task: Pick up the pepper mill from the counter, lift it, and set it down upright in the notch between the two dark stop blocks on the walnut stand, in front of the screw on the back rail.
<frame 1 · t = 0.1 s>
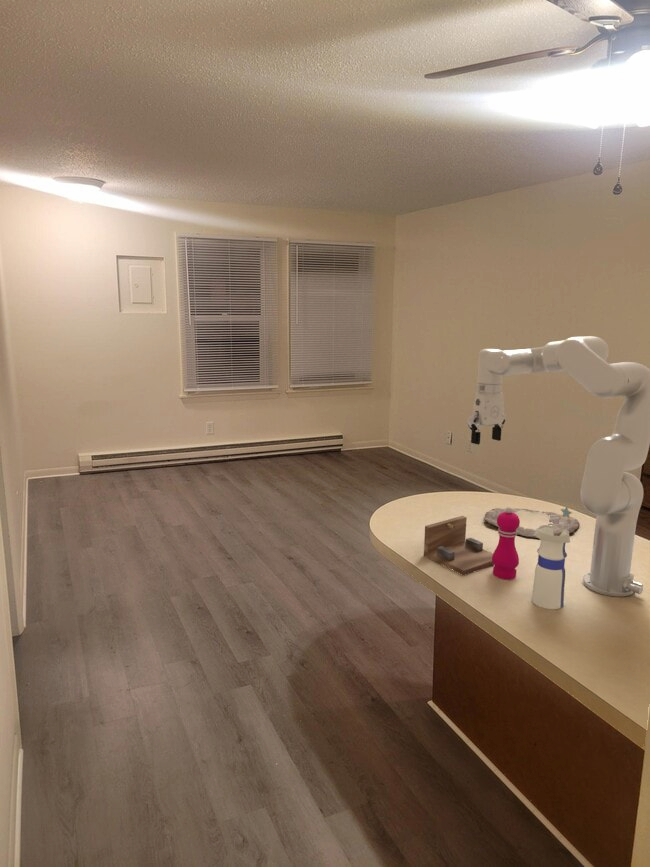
hand: (485, 441, 189), 31 cm above the kitchen counter, tool pointing down, fingers open, 9 cm apart
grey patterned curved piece: (530, 524, 205), on the kitchen counter
notched stand: (462, 558, 176), on the kitchen counter
pepper mill: (504, 575, 166), on the kitchen counter
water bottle: (546, 601, 151), on the kitchen counter
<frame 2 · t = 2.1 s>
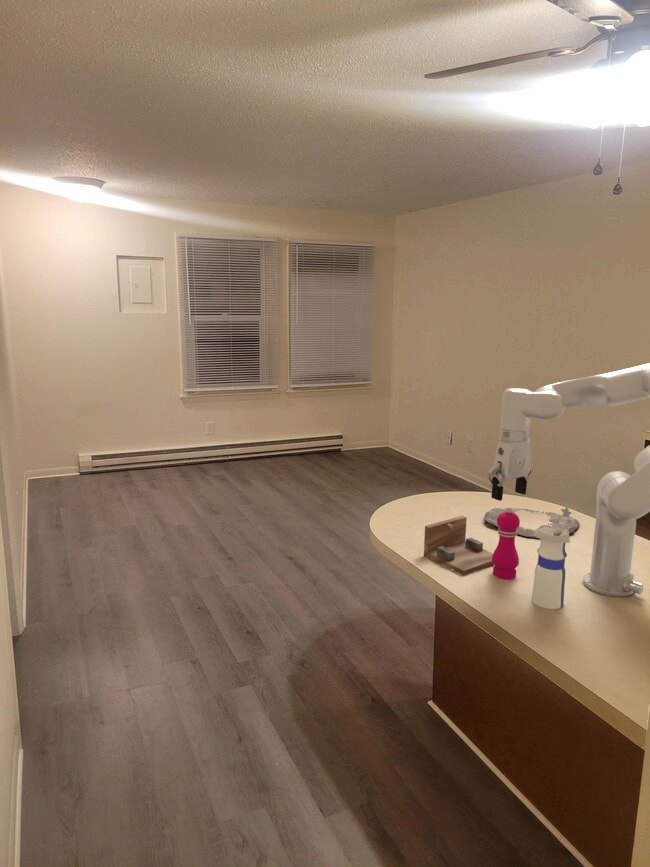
hand: (508, 496, 161), 23 cm above the kitchen counter, tool pointing down, fingers open, 9 cm apart
nothing on the kitchen counter moved.
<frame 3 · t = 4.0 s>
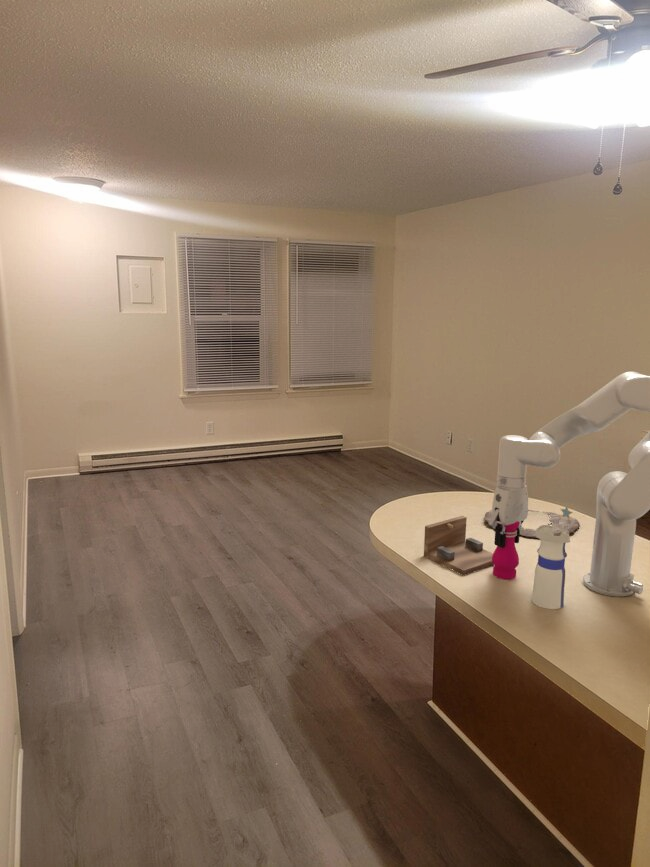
hand: (506, 543, 164), 9 cm above the kitchen counter, tool pointing down, fingers closed on pepper mill, 5 cm apart
pepper mill: (504, 575, 166), on the kitchen counter, touching gripper
everything else where it was.
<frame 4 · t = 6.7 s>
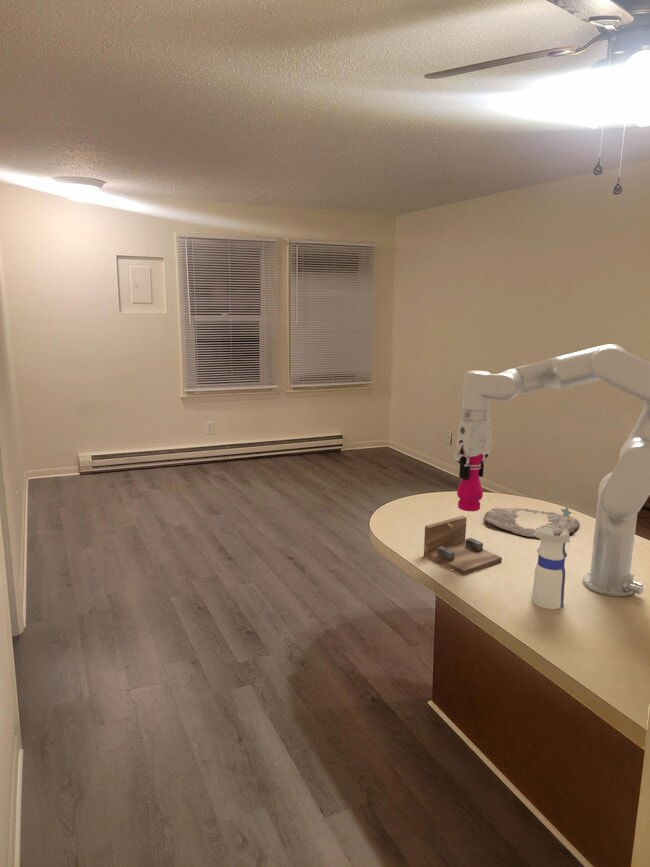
hand: (471, 476, 169), 26 cm above the kitchen counter, tool pointing down, fingers closed on pepper mill, 5 cm apart
pepper mill: (468, 508, 171), point 16 cm above the kitchen counter, touching gripper
everything else where it was.
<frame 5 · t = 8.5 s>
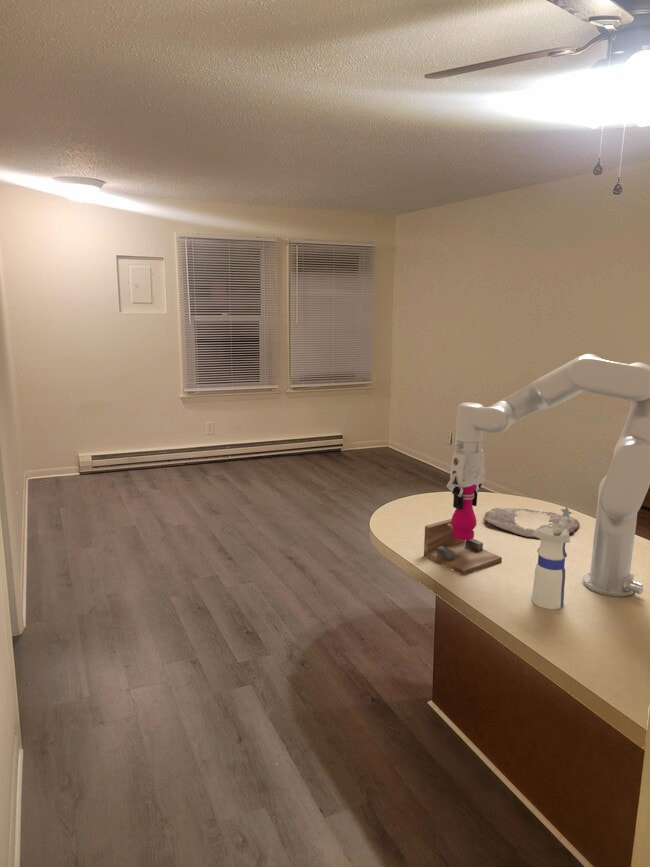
hand: (464, 506, 172), 17 cm above the kitchen counter, tool pointing down, fingers closed on pepper mill, 5 cm apart
pepper mill: (462, 536, 175), point 7 cm above the kitchen counter, touching gripper
everything else where it was.
when the fingers open (12 cm above the kitchen counter, at t = 9.8 s): pepper mill stays where it is, resting on notched stand.
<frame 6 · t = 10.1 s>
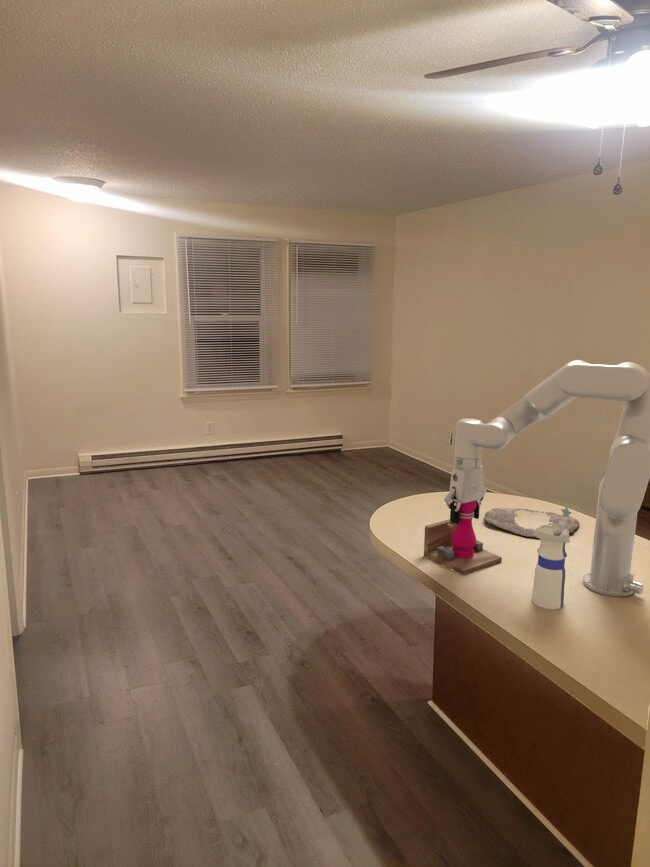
hand: (464, 519, 173), 12 cm above the kitchen counter, tool pointing down, fingers open, 7 cm apart
pepper mill: (462, 555, 175), point 1 cm above the kitchen counter, touching notched stand
everything else where it was.
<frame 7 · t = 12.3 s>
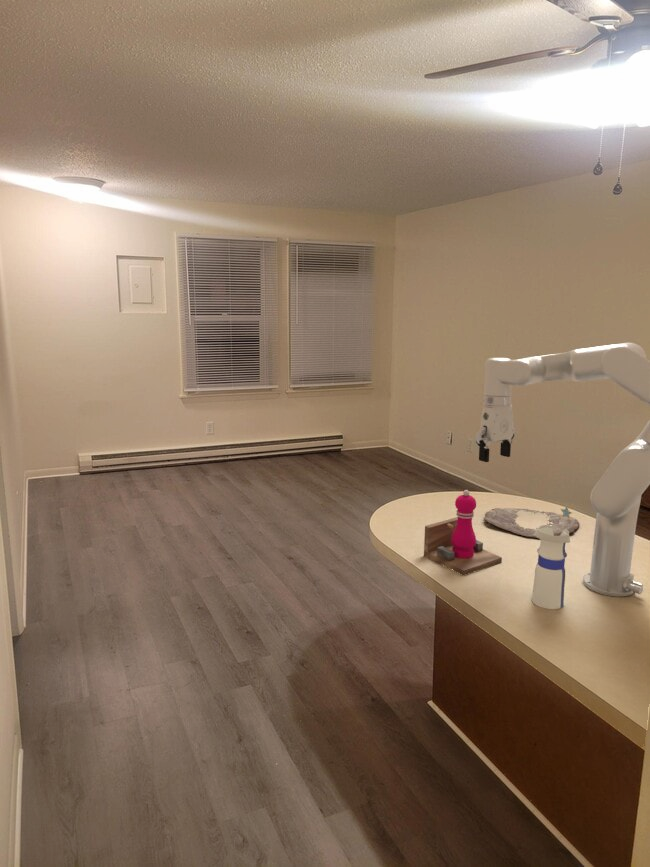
hand: (494, 458, 174), 30 cm above the kitchen counter, tool pointing down, fingers open, 9 cm apart
nothing on the kitchen counter moved.
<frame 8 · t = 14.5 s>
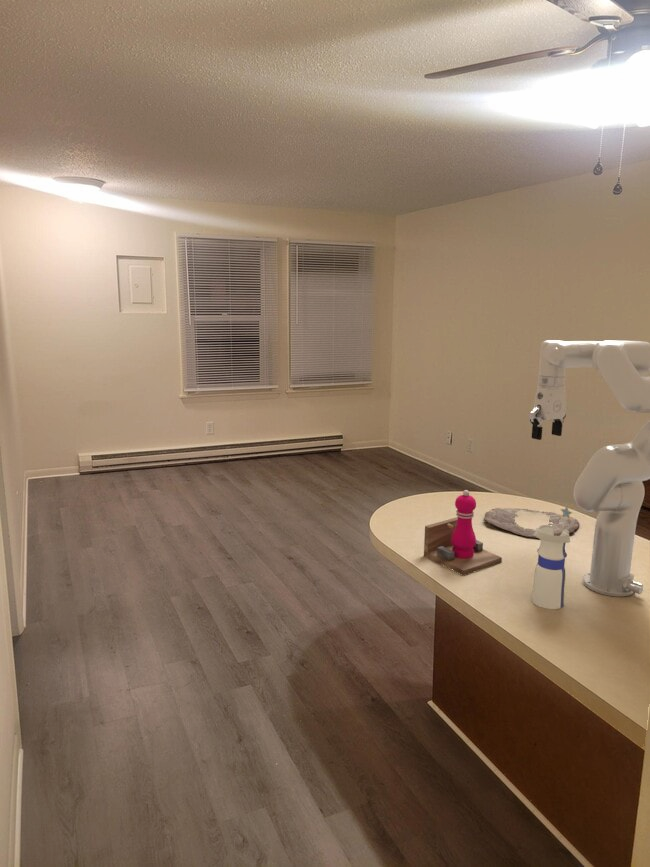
hand: (546, 437, 182), 34 cm above the kitchen counter, tool pointing down, fingers open, 9 cm apart
nothing on the kitchen counter moved.
at the end: pepper mill inside the target area on the notched stand (0.2 cm from its centre), point 1.3 cm above the notched stand's base; pepper mill tilted 0°; the gripper is holding nothing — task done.
